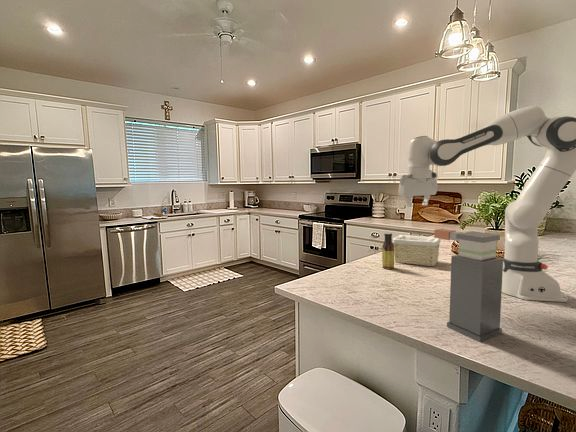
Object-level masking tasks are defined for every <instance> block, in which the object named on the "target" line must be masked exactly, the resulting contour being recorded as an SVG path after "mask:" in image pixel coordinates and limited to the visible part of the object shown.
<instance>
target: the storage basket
mask: <svg viewBox="0 0 576 432" xmlns="http://www.w3.org/2000/svg"><path fill="white" fill-rule="evenodd" d="M392 243H393V245H394V263H398V264H405V263H406V264H408V265H416V266H423V267H424V266H427V267H434V266H435V265H436V264H437V263H438V261H439V255H440V254H439V251H440V244H441V239H439V238H434V236H421V235H420V236H419V235H409V234H408V235H406V234H399V235H397V236H396V237H392Z"/></svg>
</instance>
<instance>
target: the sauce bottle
mask: <svg viewBox="0 0 576 432" xmlns="http://www.w3.org/2000/svg"><path fill="white" fill-rule="evenodd" d="M383 235H384V242H383V244H382V252H381V253H382V256H381V257H382V260H381V263H382V268H383V269H386V270H392V269H394V267H395V256H394V243H393V233H392V232H384V234H383Z"/></svg>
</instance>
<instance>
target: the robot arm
mask: <svg viewBox="0 0 576 432" xmlns="http://www.w3.org/2000/svg"><path fill="white" fill-rule="evenodd" d="M523 137H527V138H528V141H530V143H531V144H533V145H535V146H537V147H543V148H546V152H545V155H544V158H543V159H542V160H541V162H540V163H539V164H538V166H537V167H536V168H535V170H534V171H533V173H532V174H531V175H530V177H529V178H528V179H527V181H526V183H525V185H524V186H523V188H522V190H521V191H520V194H519V195H518V197H517V198H516V200H513V201H511V202H509V203H508V204H507V205H506V207H505V212H504V239H505V241H504V256H503V257H502V258H503V273H502V293H503V294H506V295H508V296H512V297H515V298H519V299H521V300H525V301H537V302H538V301H540V302H543V301H544V302H560V303H561V302H562V303H567V302H568V301H569V297H568V296H567V294H565V293H564V292H562V291H561V290H562V289H561V286H560V284H559V282H558V280H557V279H555V278H554V277H552V276H551V275H550V274H548V273H547V272H546V271H544V270H547V269H549V268H548V267H549V266H548V265H547V264H545V263H543V262H541V261H540V260H539V259H538V257H539V256H538V255H539V245H540V244H539V234H538V226H539V225H540V224H542V222H543V220H544V218H545V217H546V215H547V213H548V212H549V211H550V209H551V207H552V206H553V203H554V202H555V200H556V198H557V197H558V195H559V194H560V192H561V191H562V190H563V188H564V187H565V185H566V184H567V183H568V182H569V180H570V179H571V178H572V176H573V175H574V174H575V172H576V117H574V116H555V117H547V116H546V114H545V112H544V110H543V109H542V108H541V107H540V106H538V105H537V106H536V105H530V106H526V107H521V108H518V109H515V110H513V111H510V112H507V113H504V114H502V115H500V116H498V117H496V118H494V119H492V120H490V121H489V122H487V123H486V124H485V125H484V126H482V127H481V128H480V129H479V130H476V131H474V132H471V133H469V134H466V135H464V136H461V137H458V138H454V139H441V140H438V141H437V140H436V139H433V138H431V137H429V136H428V135H421V136H417V137H415V138H413V139H411V140H410V141H409V143H408V147H407V162H408V165H407V172H406V173H407V174H403V175H402V176H401V177H399V184H398V196H399V197H404V200H405V202H406V207H408V208H409V207H410V208H411V207H413V202H412V200H411V199H412V197H418V196H422V197H423V200H422V203H421V205H422V206H423V207H425V206H426V207H427V206H428V205H429V200H430V199H431V196H435V195H436V194H437V192H438V180H437V178H438V173H437V172H435V171H433V170H431V169H430V165H433V166H437V167H445V166H449V165H451V164H453V163H454V162H455V161H456V160H457V159H459V157H461V156H462V155H464V154H466V153H469V152H471V151H474V150H476V149H479V148H481V147H485V146H489V145H490V146H500V145H504V144H507V143H511V142H514V141H516V140H519V139H521V138H523Z"/></svg>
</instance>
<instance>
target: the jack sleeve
mask: <svg viewBox="0 0 576 432" xmlns="http://www.w3.org/2000/svg"><path fill="white" fill-rule="evenodd" d="M503 258H504V257H498V256H496V259H492V260H488V261H483V262H480V261H476V260H471V259H467V258H462V257H458V254H455V255H451V259H450V260H451V262H450V263H451V264H450V287H449V288H450V293H449V321H447V322H446V327H447V328H448V329H451V330H453V331H455V332H457V333H460V334H461V335H464V336H466V337H469V338H471V339H473V340H475V341H477V342H479V343H482V342H484V341H487V340H489V339H492V338H494V337H496V336H498V335H501V334H503V328H501V309H502V293H503V292H502V274H503Z"/></svg>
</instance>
